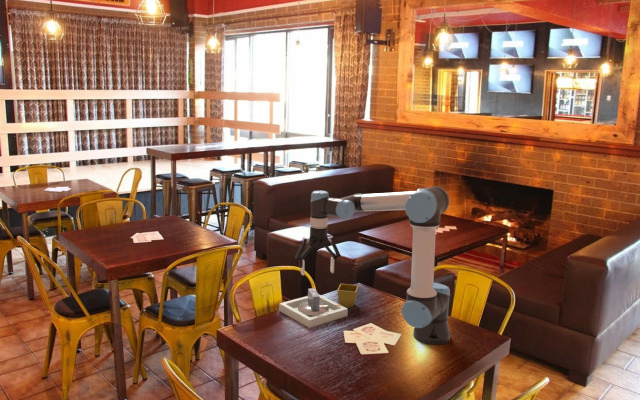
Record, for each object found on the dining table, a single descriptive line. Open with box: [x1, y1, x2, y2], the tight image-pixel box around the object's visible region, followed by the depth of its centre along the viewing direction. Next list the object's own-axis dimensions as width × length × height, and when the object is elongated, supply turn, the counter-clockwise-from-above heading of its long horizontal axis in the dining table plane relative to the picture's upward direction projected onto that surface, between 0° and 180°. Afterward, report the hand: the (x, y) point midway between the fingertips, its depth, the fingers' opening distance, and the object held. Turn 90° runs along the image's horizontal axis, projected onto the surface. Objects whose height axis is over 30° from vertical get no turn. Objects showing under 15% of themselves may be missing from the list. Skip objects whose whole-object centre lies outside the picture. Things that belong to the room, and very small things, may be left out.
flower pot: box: [337, 283, 359, 309], centre depth 267 cm, size 9×9×9 cm
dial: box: [298, 288, 329, 317], centre depth 256 cm, size 14×14×8 cm
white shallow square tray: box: [278, 294, 349, 329], centre depth 257 cm, size 22×22×4 cm
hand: (317, 273), depth 250 cm, fingers open, 13 cm apart
